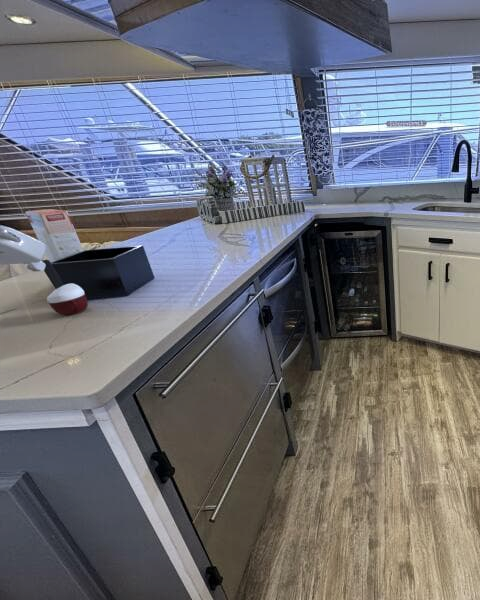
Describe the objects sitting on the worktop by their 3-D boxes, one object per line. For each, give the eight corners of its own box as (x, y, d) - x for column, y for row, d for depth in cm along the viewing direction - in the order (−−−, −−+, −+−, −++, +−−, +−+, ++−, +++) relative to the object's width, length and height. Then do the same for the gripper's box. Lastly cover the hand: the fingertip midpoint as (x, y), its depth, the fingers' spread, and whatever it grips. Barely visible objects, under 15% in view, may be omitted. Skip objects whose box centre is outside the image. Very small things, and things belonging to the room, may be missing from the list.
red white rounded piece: (88, 314, 73) (64, 264, 68) (51, 322, 70) (23, 270, 65) (95, 301, 80) (74, 255, 76) (61, 308, 77) (37, 260, 73)
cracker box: (99, 282, 95) (67, 209, 87) (72, 289, 90) (36, 213, 82) (83, 275, 102) (52, 207, 94) (57, 281, 97) (22, 210, 89)
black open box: (62, 302, 81) (43, 264, 77) (99, 283, 94) (85, 250, 90) (128, 295, 83) (112, 258, 80) (154, 278, 97) (143, 245, 93)
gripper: (2, 209, 53) (76, 252, 65) (-143, 216, 50) (-37, 259, 63) (-11, 242, 50) (68, 280, 63) (-164, 251, 48) (-50, 288, 61)
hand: (14, 269), depth 63 cm, fingers open, 8 cm apart
